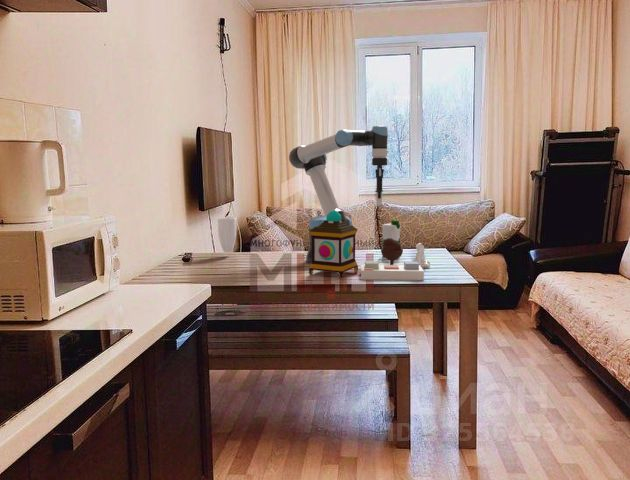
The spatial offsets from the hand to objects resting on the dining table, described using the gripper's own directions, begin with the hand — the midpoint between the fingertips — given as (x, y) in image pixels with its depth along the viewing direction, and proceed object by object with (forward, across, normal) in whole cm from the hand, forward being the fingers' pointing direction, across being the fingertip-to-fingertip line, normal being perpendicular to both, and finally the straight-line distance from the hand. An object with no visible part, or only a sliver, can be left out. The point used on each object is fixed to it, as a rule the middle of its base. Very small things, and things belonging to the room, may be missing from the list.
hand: (379, 204), depth 285 cm
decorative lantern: (+31, -25, +22) cm, 45 cm away
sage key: (+28, -30, +4) cm, 42 cm away
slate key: (+28, -30, -13) cm, 43 cm away
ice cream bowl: (+31, -11, -6) cm, 33 cm away
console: (+30, -30, -4) cm, 43 cm away
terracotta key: (+30, -30, -5) cm, 43 cm away
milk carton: (+31, +23, -8) cm, 39 cm away
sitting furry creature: (+31, -5, -21) cm, 38 cm away
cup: (+31, +20, +82) cm, 90 cm away
